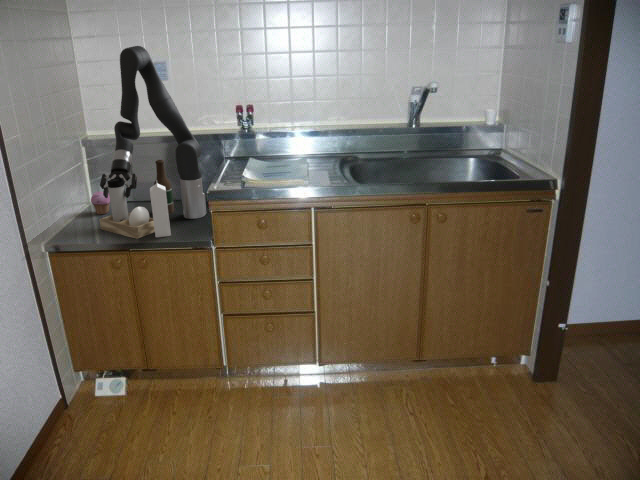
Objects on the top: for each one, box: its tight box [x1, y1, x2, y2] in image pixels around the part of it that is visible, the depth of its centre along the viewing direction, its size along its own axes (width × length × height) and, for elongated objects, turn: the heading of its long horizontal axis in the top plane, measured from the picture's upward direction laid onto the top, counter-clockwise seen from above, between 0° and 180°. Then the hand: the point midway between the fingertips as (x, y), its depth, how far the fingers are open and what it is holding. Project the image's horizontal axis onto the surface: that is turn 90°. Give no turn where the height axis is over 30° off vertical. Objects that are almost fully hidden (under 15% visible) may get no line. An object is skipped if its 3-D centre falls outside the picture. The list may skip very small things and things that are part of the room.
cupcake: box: [90, 191, 111, 215], centre depth 246 cm, size 9×9×10 cm
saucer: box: [129, 206, 150, 227], centre depth 221 cm, size 10×1×10 cm, turn 148°
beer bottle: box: [153, 159, 175, 215], centre depth 243 cm, size 8×8×24 cm
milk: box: [149, 183, 172, 238], centre depth 216 cm, size 6×6×22 cm
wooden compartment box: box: [98, 212, 155, 240], centre depth 225 cm, size 12×22×4 cm, turn 58°
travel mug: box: [106, 178, 129, 223], centre depth 225 cm, size 6×7×20 cm
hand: (116, 197), depth 222 cm, fingers open, 8 cm apart
